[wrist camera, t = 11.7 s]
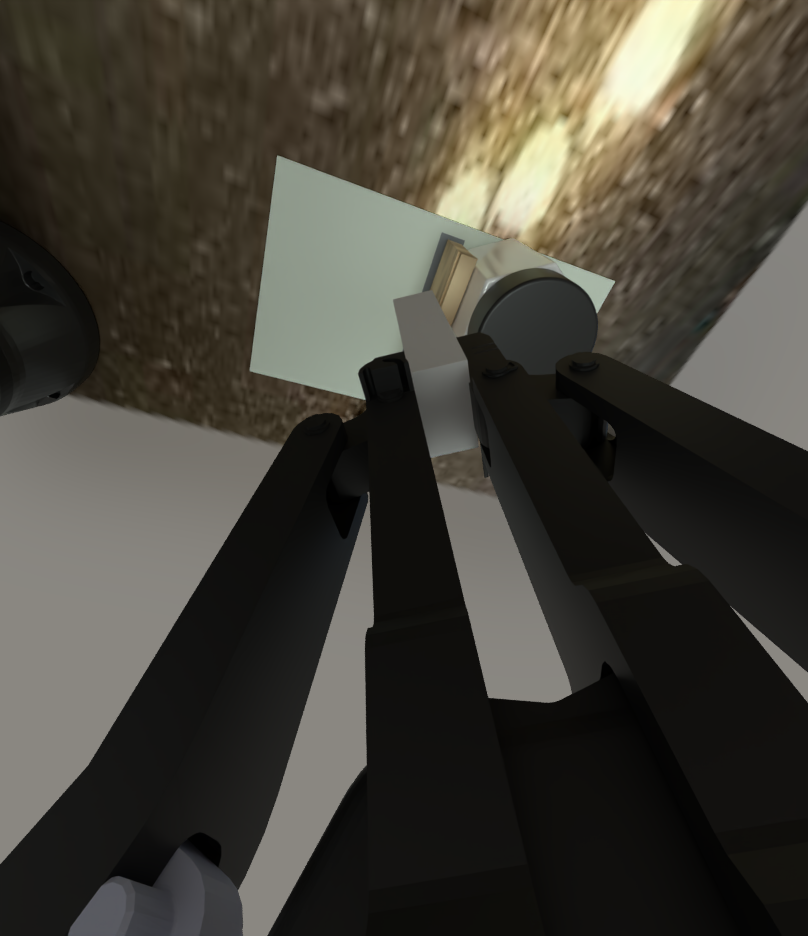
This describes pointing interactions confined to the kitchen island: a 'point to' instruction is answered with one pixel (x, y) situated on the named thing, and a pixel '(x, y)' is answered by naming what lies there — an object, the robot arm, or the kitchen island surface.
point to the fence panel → (452, 278)
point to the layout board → (349, 276)
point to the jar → (526, 307)
